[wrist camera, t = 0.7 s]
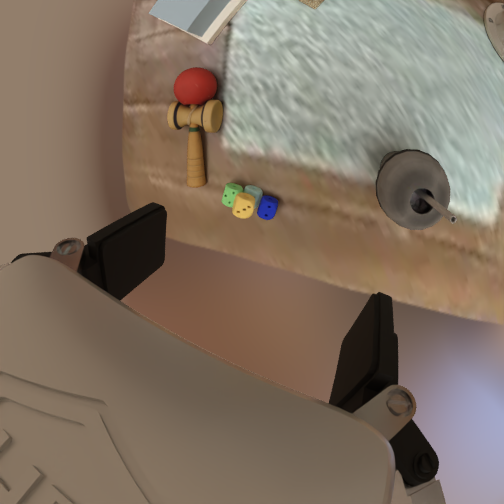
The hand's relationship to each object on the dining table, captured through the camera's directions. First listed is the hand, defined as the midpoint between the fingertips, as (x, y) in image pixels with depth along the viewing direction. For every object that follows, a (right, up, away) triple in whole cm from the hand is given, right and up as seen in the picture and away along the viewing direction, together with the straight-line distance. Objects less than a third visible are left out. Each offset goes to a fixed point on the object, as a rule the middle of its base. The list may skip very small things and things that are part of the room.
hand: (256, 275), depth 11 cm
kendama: (-7, +20, +26) cm, 34 cm away
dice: (+1, +9, +28) cm, 30 cm away
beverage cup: (+18, +12, +19) cm, 29 cm away
